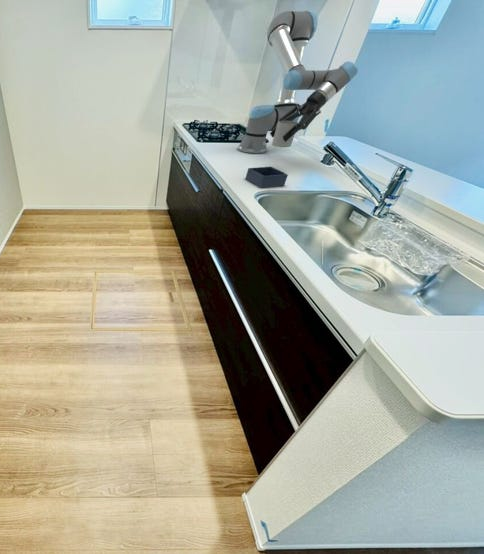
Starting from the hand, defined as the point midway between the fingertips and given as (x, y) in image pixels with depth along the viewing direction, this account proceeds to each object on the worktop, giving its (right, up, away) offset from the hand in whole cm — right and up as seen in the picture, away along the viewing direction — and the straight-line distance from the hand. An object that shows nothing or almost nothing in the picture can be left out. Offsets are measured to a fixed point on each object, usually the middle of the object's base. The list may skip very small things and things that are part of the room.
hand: (277, 137), depth 140 cm
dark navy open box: (-10, -24, -6) cm, 26 cm away
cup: (+3, -3, +3) cm, 5 cm away
